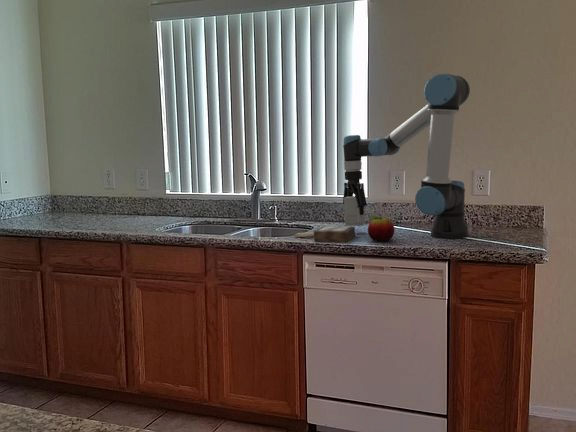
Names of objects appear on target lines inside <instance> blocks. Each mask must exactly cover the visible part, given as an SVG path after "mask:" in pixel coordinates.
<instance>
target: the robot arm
mask: <svg viewBox="0 0 576 432" xmlns="http://www.w3.org/2000/svg"><path fill="white" fill-rule="evenodd" d="M470 89H471V88H470V83H469V82H468V81H467V79H466V78H464V77H463V76H460V75H454V74H449V73H438V74H435V75H433V76H432V77H430V79H428V80H427V82H426V84H425V85H424V89H423V95H424V98H425V100H426V101H427V104H426V105H425V106H423V108H421V109H419V111H417V112H416V113H414V114H413V115H412V116H410V117H409V118H408V119H406V120H405V121H404V122H403V123H401V124H400V125H399V126H398V127H396V128H395V129H394V130H392V132H390V133H389V134H388V135H386V136H385V137H374V138H364V139H363V138H361V135H359V134H353V135H345V136H344V137H343V145H342V147H343V158H344V159H343V164H344V165H343V167H344V180H346V182H344V183H343V188H344V189H343V200H342V204H343V205H344V198H345V197H349V196H355V197H356V200H357V204H358V206H357V213H358V222H364V208H365V206H367V200H366V194H365V185H364V183H362V182H360V181H361V180H362V179H363V173H362V172H363V171H362V169H363V168H362V164H363V163H362V158H363V157H376V158H377V157H382V156H393V155H396V154H397V153H398V152H399V151H400V150H401V147H403V146H404V145H405V144H407V143H408V142H410V141H411V140H412V139H413V138H414V137H416V136H417V135H419V134H420V133H421V132H422V131H424V130H426V129H427V128H429V136H428V145H427V146H428V147H427V159H426V170H425V176H424V177H423V178H421V181H420V188H419V189H418V191H417V192H416V193H415V195H414V196H415V198H414V202H415V205H416V208H417V209H418V210H419V212H420V213H422V214H423V215H427V216H434V220H433V223H432V227H431V229H430V236H431V237H434V238H439V239H463V238H467V237H469V229H468V225H467V222H466V219H465V199H466V198H465V193H466V188H465V183H464V182H463V181H461V180H451V179H450V177H449V173H450V162H451V152H452V142H453V132H454V120H455V115H456V114H457V113H458V112H459V110H460V107H461V106H462V105H463V104H464V103H465V102H467V100H468V98H469V96H470V92H471V90H470Z"/></svg>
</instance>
